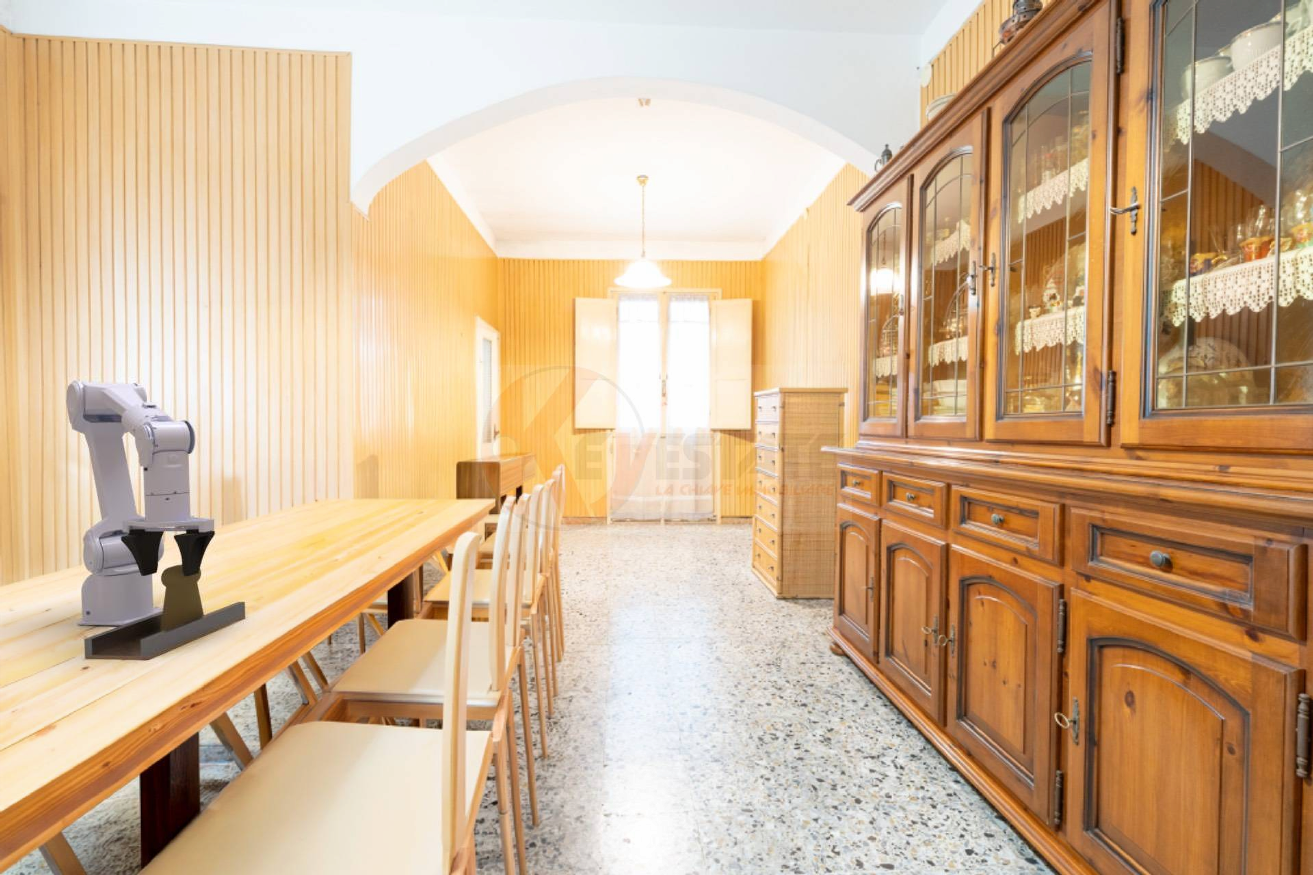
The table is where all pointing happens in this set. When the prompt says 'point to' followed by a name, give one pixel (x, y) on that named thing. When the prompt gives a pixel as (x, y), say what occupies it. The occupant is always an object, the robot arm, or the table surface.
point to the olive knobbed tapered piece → (180, 597)
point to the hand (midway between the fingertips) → (170, 574)
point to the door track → (157, 635)
